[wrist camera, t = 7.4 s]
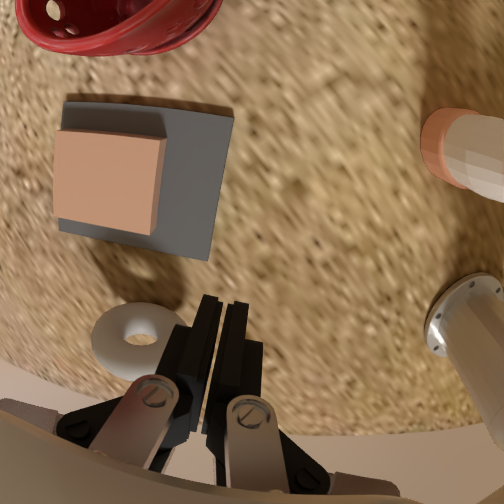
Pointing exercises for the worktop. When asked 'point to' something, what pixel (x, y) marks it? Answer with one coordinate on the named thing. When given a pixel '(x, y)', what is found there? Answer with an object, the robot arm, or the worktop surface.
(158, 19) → the plant pot
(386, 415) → the worktop surface
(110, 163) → the tile
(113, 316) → the donut
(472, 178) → the pepper shaker
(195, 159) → the mat
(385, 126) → the worktop surface
